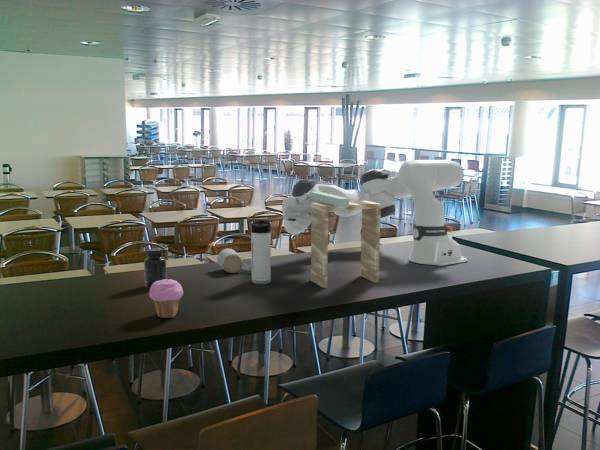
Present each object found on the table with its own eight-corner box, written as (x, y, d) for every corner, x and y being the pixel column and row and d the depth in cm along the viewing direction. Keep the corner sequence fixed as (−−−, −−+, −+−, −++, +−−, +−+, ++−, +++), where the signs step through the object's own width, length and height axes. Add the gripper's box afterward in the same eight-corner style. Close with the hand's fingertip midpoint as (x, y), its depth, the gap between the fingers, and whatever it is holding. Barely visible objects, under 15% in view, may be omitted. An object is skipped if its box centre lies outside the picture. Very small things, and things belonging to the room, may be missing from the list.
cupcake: (181, 321, 142) (180, 283, 141) (147, 321, 142) (145, 283, 140) (185, 310, 151) (184, 274, 150) (153, 311, 150) (152, 275, 149)
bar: (318, 198, 191) (318, 191, 191) (349, 206, 169) (349, 198, 169) (309, 198, 190) (309, 191, 190) (339, 207, 168) (339, 198, 168)
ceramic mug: (223, 275, 191) (223, 253, 189) (216, 269, 198) (217, 248, 197) (252, 272, 195) (252, 251, 194) (245, 267, 202) (245, 247, 201)
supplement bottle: (160, 282, 180) (158, 246, 178) (171, 286, 175) (170, 249, 173) (140, 286, 175) (139, 249, 173) (151, 290, 170) (150, 252, 169)
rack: (364, 275, 191) (366, 200, 187) (378, 282, 182) (380, 203, 178) (310, 280, 184) (311, 202, 180) (323, 287, 175) (324, 205, 171)
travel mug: (272, 279, 185) (272, 220, 182) (269, 284, 178) (268, 223, 175) (253, 279, 185) (253, 220, 182) (250, 284, 179) (249, 223, 176)
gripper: (333, 217, 201) (348, 202, 189) (280, 220, 194) (292, 204, 182) (329, 201, 204) (344, 185, 191) (277, 203, 196) (289, 187, 184)
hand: (318, 195), depth 187 cm, fingers open, 7 cm apart
